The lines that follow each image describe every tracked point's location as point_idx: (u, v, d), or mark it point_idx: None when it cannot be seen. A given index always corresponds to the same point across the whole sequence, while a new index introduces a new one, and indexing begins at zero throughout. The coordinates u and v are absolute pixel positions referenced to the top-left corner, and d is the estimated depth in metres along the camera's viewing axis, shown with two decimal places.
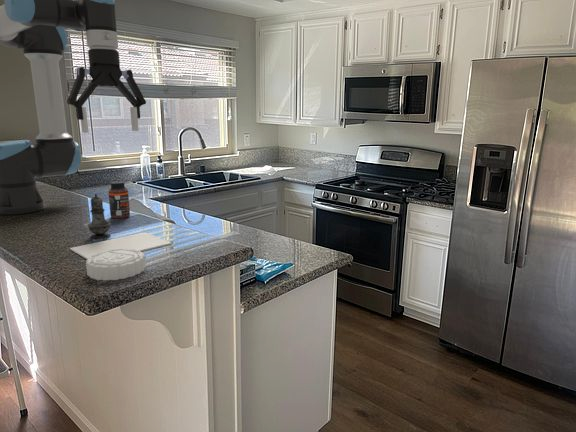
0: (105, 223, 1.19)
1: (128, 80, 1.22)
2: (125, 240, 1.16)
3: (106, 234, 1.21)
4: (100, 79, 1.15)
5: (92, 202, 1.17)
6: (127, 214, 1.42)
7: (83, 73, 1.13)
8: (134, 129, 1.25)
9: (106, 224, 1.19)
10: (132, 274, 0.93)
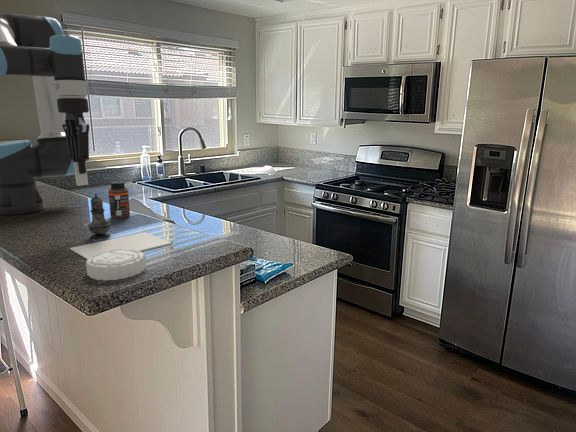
0: (105, 223, 1.19)
1: None
2: (125, 240, 1.16)
3: (106, 234, 1.21)
4: (67, 128, 1.20)
5: (92, 202, 1.17)
6: (127, 214, 1.42)
7: (64, 128, 1.23)
8: None
9: (106, 224, 1.19)
10: (132, 274, 0.93)
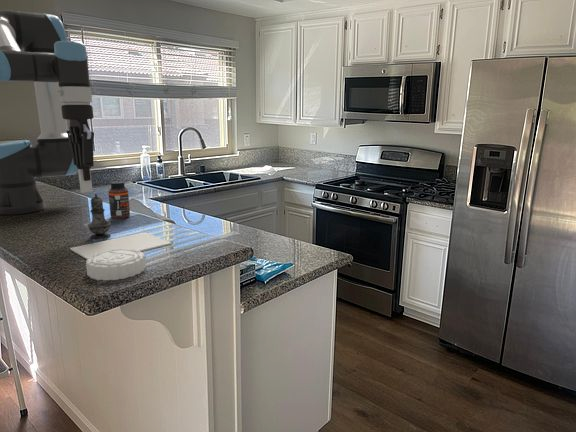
0: (105, 223, 1.19)
1: None
2: (125, 240, 1.16)
3: (106, 234, 1.21)
4: (71, 134, 1.18)
5: (92, 202, 1.17)
6: (127, 214, 1.42)
7: (68, 134, 1.21)
8: None
9: (106, 224, 1.19)
10: (132, 274, 0.93)
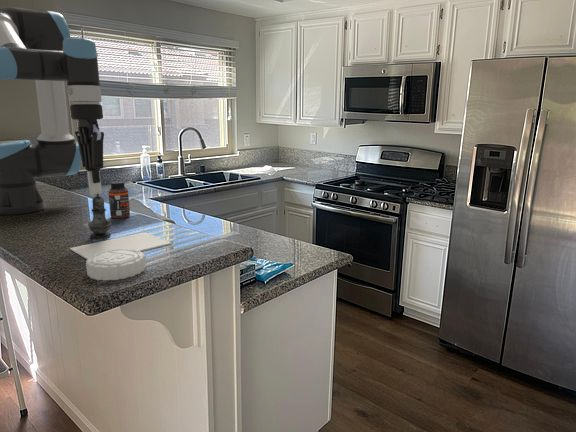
0: (106, 223, 1.19)
1: None
2: (125, 240, 1.16)
3: (106, 233, 1.21)
4: (80, 135, 1.14)
5: (94, 202, 1.17)
6: (127, 214, 1.42)
7: (77, 135, 1.17)
8: None
9: (107, 224, 1.19)
10: (132, 274, 0.93)
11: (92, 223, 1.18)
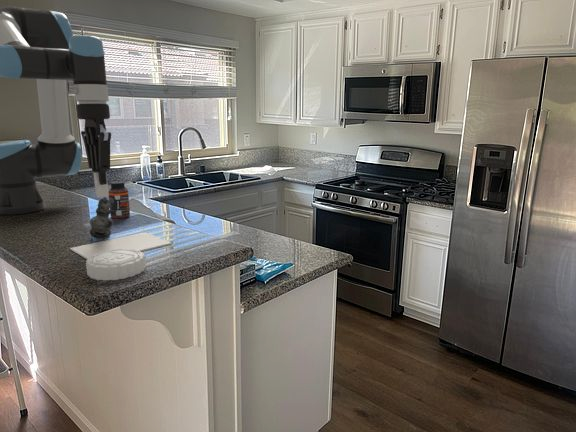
0: (108, 225, 1.18)
1: None
2: (125, 240, 1.16)
3: (106, 231, 1.21)
4: (87, 135, 1.11)
5: (100, 205, 1.14)
6: (127, 214, 1.42)
7: (83, 135, 1.14)
8: None
9: (109, 226, 1.18)
10: (132, 274, 0.93)
11: (94, 223, 1.17)
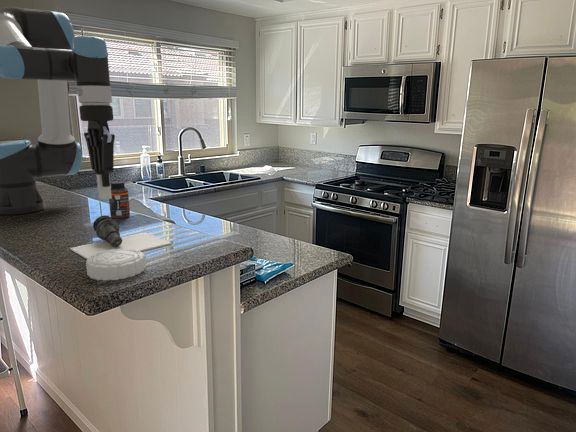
0: None
1: None
2: (125, 240, 1.16)
3: None
4: (90, 137, 1.10)
5: (110, 243, 1.10)
6: (127, 214, 1.42)
7: (86, 137, 1.13)
8: None
9: None
10: (132, 274, 0.93)
11: (100, 233, 1.14)
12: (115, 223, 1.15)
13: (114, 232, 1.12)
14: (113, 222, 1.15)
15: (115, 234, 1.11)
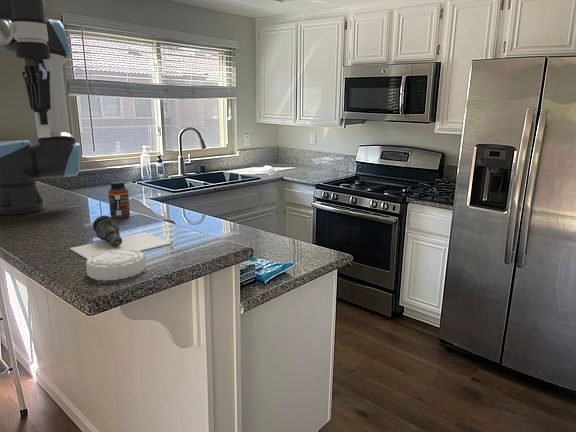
0: None
1: None
2: (125, 240, 1.16)
3: None
4: (27, 75, 1.13)
5: (110, 243, 1.10)
6: (127, 214, 1.42)
7: (24, 76, 1.16)
8: None
9: None
10: (132, 274, 0.93)
11: (100, 234, 1.14)
12: (115, 223, 1.15)
13: (114, 232, 1.12)
14: (113, 222, 1.15)
15: (115, 234, 1.11)
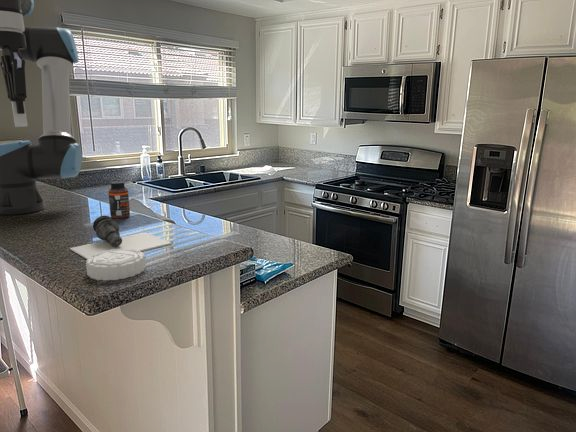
0: None
1: None
2: (125, 240, 1.16)
3: None
4: (3, 64, 1.14)
5: (110, 243, 1.10)
6: (127, 214, 1.42)
7: (2, 66, 1.17)
8: None
9: None
10: (132, 274, 0.93)
11: (100, 234, 1.14)
12: (115, 223, 1.15)
13: (114, 232, 1.12)
14: (113, 222, 1.15)
15: (115, 234, 1.11)
